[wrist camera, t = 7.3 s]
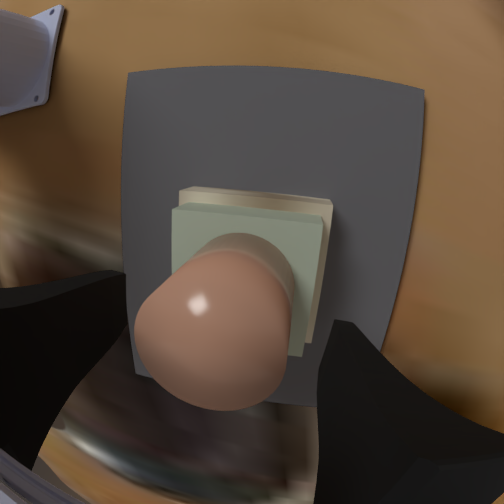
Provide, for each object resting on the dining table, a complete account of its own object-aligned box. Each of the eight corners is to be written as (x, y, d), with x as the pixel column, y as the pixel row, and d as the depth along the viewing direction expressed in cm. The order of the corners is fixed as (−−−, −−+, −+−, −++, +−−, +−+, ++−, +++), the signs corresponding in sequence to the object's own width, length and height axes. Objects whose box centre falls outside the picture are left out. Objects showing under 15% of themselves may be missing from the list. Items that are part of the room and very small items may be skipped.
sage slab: (187, 316, 16) (173, 336, 14) (188, 201, 14) (172, 209, 13) (302, 333, 16) (302, 356, 14) (320, 215, 14) (323, 224, 12)
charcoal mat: (139, 368, 22) (135, 373, 21) (133, 74, 15) (128, 72, 15) (358, 404, 19) (358, 410, 19) (420, 91, 13) (424, 89, 13)
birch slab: (191, 306, 18) (179, 323, 17) (193, 186, 16) (179, 190, 14) (311, 324, 17) (311, 343, 16) (329, 199, 15) (333, 205, 13)
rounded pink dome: (187, 319, 14) (138, 388, 9) (194, 224, 13) (132, 265, 8) (284, 339, 14) (271, 422, 9) (303, 243, 12) (302, 299, 7)
